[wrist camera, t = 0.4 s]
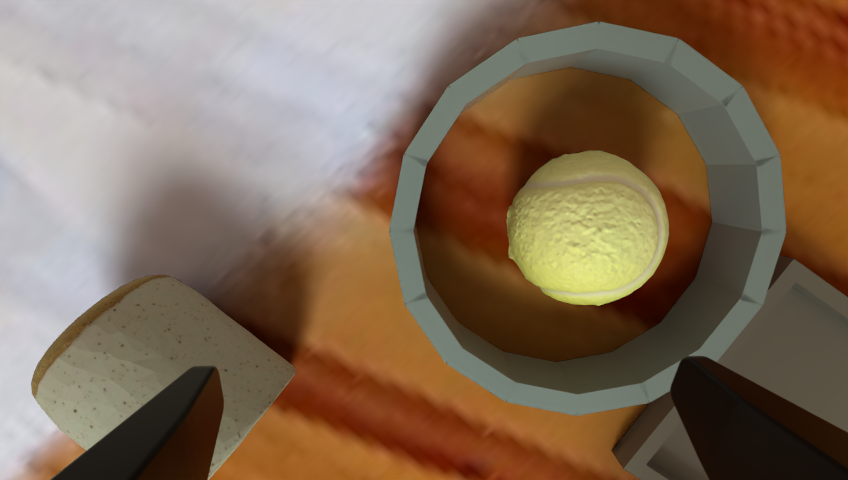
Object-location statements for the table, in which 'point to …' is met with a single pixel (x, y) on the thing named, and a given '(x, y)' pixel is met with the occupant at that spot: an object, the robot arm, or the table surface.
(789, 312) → the tray
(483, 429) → the table surface
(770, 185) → the gray open ring
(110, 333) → the ceramic mug
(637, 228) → the tennis ball
